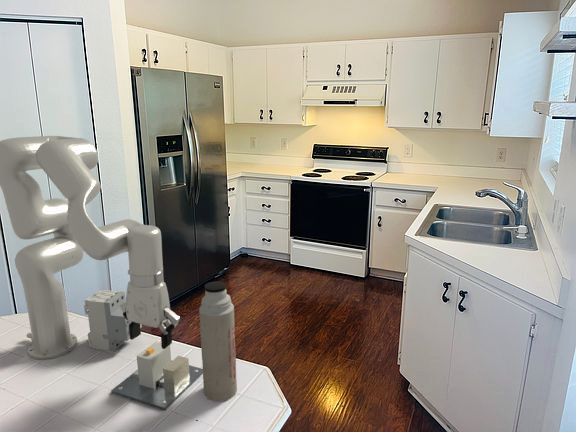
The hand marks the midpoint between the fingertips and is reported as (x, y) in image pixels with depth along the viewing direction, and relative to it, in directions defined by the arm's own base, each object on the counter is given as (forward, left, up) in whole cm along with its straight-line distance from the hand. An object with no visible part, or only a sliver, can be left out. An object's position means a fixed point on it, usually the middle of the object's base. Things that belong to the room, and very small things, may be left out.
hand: (151, 341), depth 105 cm
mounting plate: (+2, 0, -11) cm, 11 cm away
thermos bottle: (+18, +3, -11) cm, 21 cm away
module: (+1, 0, -10) cm, 10 cm away
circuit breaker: (-21, +10, -11) cm, 26 cm away
